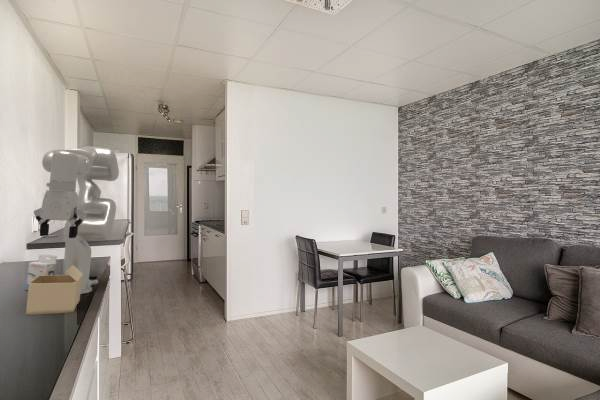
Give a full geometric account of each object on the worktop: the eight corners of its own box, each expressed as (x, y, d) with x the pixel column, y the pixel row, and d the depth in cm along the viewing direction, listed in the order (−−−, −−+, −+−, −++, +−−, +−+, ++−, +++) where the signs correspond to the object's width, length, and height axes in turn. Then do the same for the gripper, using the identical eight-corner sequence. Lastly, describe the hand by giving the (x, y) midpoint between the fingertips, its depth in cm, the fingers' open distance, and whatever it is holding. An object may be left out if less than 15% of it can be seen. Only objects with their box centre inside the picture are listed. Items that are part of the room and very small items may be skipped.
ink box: (25, 291, 139) (28, 255, 140) (35, 288, 144) (39, 254, 145) (44, 293, 138) (47, 256, 139) (54, 290, 143) (57, 255, 144)
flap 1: (30, 283, 112) (28, 281, 112) (39, 275, 124) (38, 274, 124) (44, 272, 113) (43, 271, 113) (52, 265, 126) (51, 264, 125)
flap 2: (81, 274, 130) (82, 273, 130) (76, 281, 117) (78, 280, 118) (71, 265, 128) (72, 264, 128) (65, 271, 116) (66, 270, 116)
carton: (37, 302, 124) (40, 275, 125) (79, 300, 130) (82, 274, 131) (25, 315, 110) (29, 284, 111) (73, 312, 116) (76, 282, 116)
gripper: (29, 184, 113) (24, 235, 112) (81, 188, 113) (76, 239, 113) (45, 186, 120) (40, 234, 120) (94, 189, 121) (90, 237, 120)
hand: (58, 236), depth 116 cm, fingers open, 9 cm apart
